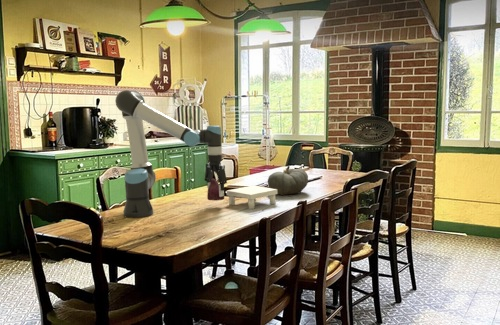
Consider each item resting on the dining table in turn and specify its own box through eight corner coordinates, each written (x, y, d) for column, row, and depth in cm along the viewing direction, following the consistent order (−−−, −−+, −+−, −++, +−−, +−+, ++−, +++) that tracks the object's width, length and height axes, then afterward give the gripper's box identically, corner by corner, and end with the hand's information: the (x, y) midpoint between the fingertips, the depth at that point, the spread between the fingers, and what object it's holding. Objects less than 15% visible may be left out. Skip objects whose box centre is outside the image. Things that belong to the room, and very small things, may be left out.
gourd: (318, 188, 298) (312, 161, 295) (287, 201, 284) (280, 172, 282) (293, 188, 319) (287, 162, 316) (262, 199, 305) (256, 172, 303)
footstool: (227, 204, 273) (226, 190, 272) (253, 199, 286) (252, 185, 285) (251, 209, 258) (250, 194, 257) (277, 203, 271) (277, 189, 270)
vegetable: (214, 206, 261) (211, 183, 256) (204, 201, 268) (200, 179, 262) (228, 199, 266) (225, 177, 261) (218, 195, 273) (214, 173, 268)
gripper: (233, 155, 258) (234, 196, 260) (208, 152, 274) (209, 191, 277) (222, 156, 253) (223, 198, 255) (197, 153, 269) (198, 193, 272)
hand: (215, 195), depth 266 cm, fingers closed on vegetable, 9 cm apart
